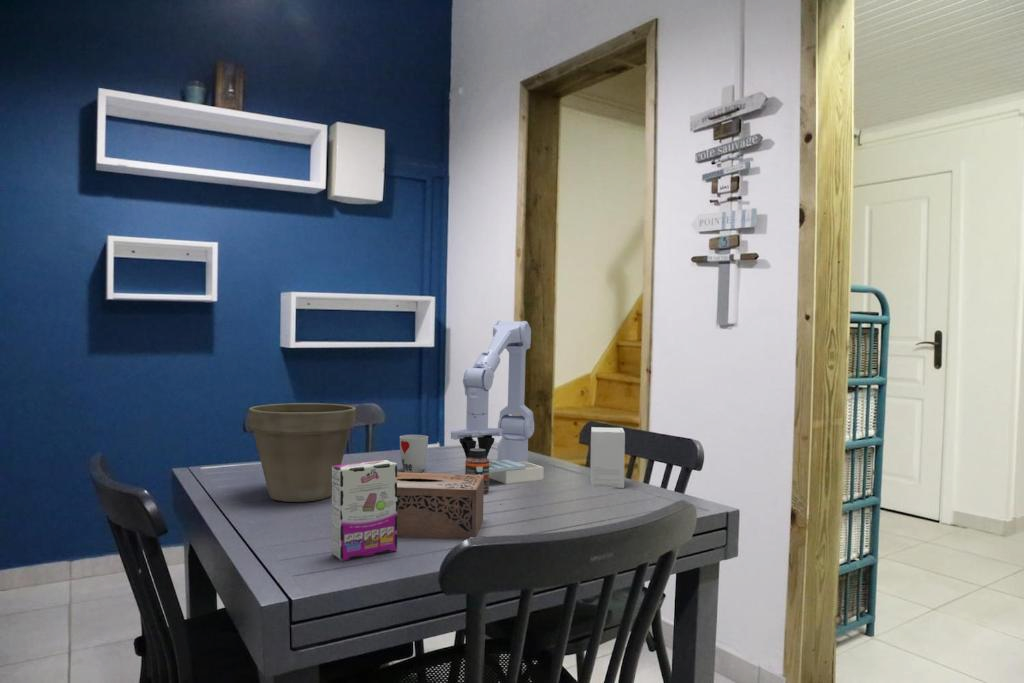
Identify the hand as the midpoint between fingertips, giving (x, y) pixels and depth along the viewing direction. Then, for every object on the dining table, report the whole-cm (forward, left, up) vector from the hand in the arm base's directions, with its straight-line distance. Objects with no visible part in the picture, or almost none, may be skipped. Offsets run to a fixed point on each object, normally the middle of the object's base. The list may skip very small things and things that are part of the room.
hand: (476, 464), depth 189 cm
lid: (0, +6, -1) cm, 6 cm away
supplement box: (+15, +32, -6) cm, 36 cm away
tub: (0, +13, -5) cm, 14 cm away
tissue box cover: (+28, -30, -6) cm, 41 cm away
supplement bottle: (+9, -5, -6) cm, 12 cm away
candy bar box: (+39, -46, -6) cm, 61 cm away
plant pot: (-10, -43, -6) cm, 44 cm away
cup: (-24, -7, -6) cm, 26 cm away
